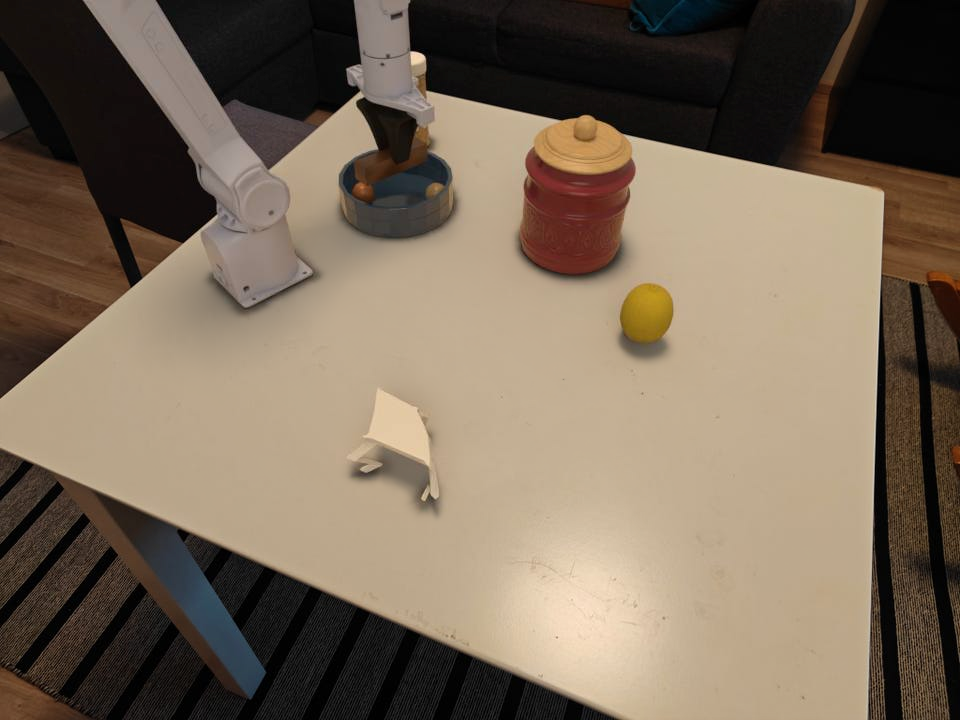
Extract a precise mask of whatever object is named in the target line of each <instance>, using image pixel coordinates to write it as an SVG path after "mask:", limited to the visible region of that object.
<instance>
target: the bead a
mask: <svg viewBox="0 0 960 720" xmlns="http://www.w3.org/2000/svg"><path fill="white" fill-rule="evenodd" d="M352 196H353V197H355V198H356V199H358V200H360V201H363V202H366V203H370V202H371V201H372V200H373V198H374V189H373V187H372V186H371V185H369V186H366V185H364V184H363V183H361V182H359V183H357V184H356V185H355V186H354V187H353V190H352Z"/></svg>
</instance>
